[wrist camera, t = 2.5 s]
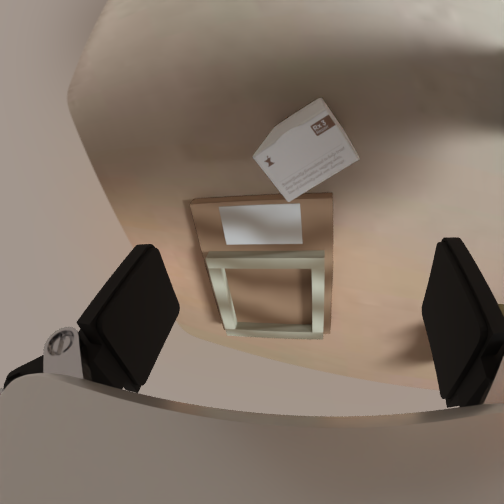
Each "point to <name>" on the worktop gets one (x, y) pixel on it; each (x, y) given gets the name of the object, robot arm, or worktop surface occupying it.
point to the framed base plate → (269, 262)
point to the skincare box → (305, 150)
